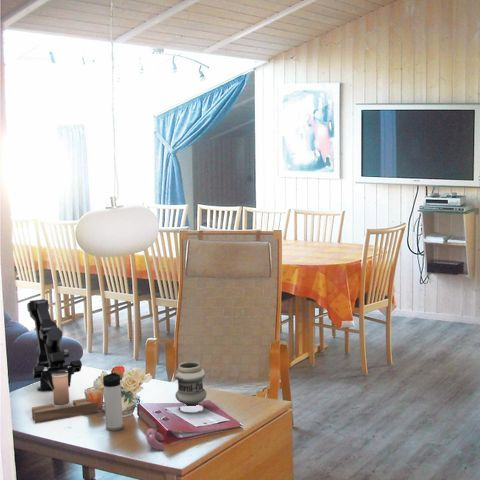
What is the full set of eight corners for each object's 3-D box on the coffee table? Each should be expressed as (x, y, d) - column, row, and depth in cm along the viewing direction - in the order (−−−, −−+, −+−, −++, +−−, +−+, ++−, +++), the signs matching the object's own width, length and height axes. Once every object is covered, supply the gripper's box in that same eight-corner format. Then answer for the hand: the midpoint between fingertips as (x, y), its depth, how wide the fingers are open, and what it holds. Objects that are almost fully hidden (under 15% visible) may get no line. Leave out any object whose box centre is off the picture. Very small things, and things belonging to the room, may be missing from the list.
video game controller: (153, 444, 286) (143, 428, 284) (164, 438, 286) (155, 422, 284) (153, 456, 276) (143, 439, 275) (164, 449, 276) (154, 432, 275)
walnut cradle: (32, 417, 312) (31, 407, 312) (93, 406, 322) (92, 397, 321) (35, 423, 306) (34, 413, 305) (98, 412, 315) (97, 402, 315)
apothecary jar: (170, 412, 312) (168, 367, 310) (184, 402, 324) (182, 358, 321) (199, 415, 308) (197, 370, 305) (212, 405, 319) (210, 361, 316)
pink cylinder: (52, 401, 320) (50, 372, 318) (67, 399, 323) (66, 370, 321) (55, 406, 315) (53, 377, 313) (71, 404, 317) (69, 374, 315)
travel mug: (125, 424, 302) (122, 372, 299) (120, 431, 295) (117, 378, 292) (108, 424, 302) (105, 372, 299) (103, 431, 296) (100, 378, 293)
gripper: (31, 346, 315) (39, 382, 307) (79, 339, 322) (87, 374, 314) (29, 360, 323) (36, 395, 315) (76, 353, 331) (84, 387, 322)
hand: (61, 387), depth 316 cm, fingers closed on pink cylinder, 6 cm apart
